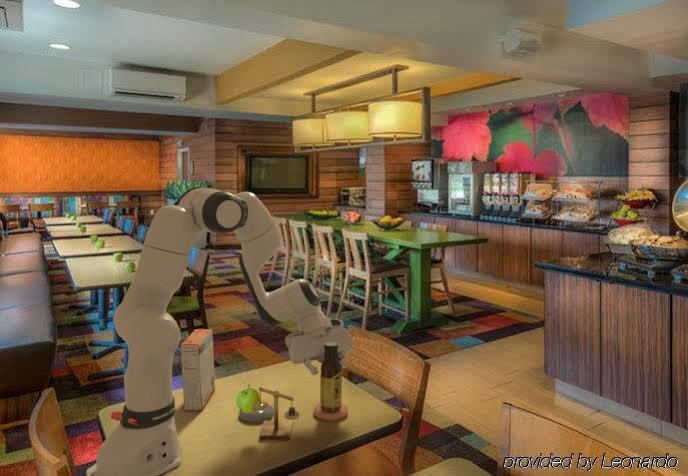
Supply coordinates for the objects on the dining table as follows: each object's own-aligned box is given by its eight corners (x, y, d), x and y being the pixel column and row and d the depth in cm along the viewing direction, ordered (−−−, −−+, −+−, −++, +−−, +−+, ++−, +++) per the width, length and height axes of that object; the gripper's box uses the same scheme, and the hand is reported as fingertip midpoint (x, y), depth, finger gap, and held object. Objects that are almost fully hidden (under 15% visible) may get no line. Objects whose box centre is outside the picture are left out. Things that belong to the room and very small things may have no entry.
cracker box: (197, 390, 170) (194, 328, 167) (215, 391, 169) (213, 328, 166) (182, 411, 156) (179, 343, 153) (202, 411, 156) (200, 343, 153)
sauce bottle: (338, 415, 151) (339, 348, 148) (317, 412, 153) (317, 347, 150) (343, 404, 158) (343, 341, 155) (323, 402, 159) (323, 339, 156)
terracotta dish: (336, 424, 148) (336, 420, 148) (307, 415, 153) (307, 411, 153) (353, 410, 157) (353, 406, 157) (325, 402, 162) (325, 398, 162)
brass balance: (251, 439, 140) (250, 394, 138) (256, 424, 148) (255, 381, 146) (298, 439, 140) (297, 394, 138) (300, 424, 148) (300, 381, 146)
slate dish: (259, 426, 147) (259, 422, 147) (232, 417, 152) (232, 413, 152) (281, 411, 156) (281, 407, 156) (254, 403, 161) (254, 400, 160)
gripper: (286, 329, 154) (300, 373, 147) (346, 319, 164) (363, 359, 157) (280, 339, 158) (294, 382, 151) (339, 329, 168) (355, 368, 161)
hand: (329, 370), depth 154 cm, fingers open, 8 cm apart
